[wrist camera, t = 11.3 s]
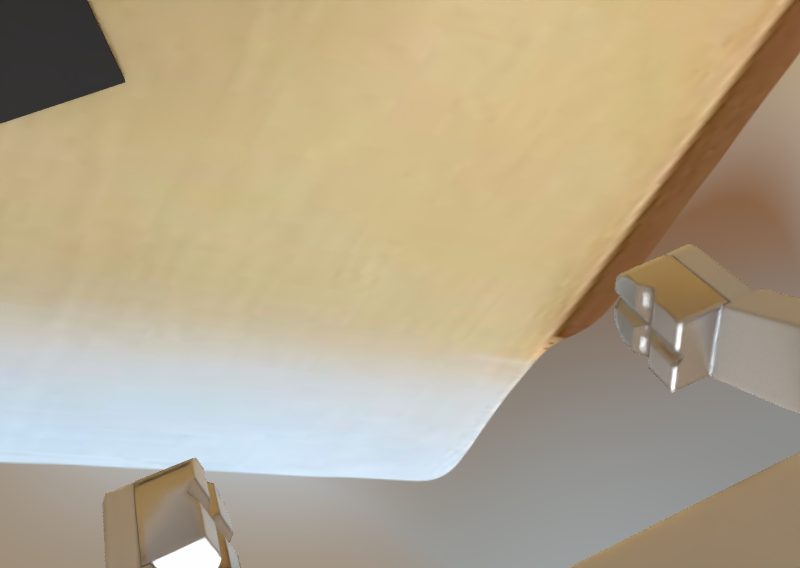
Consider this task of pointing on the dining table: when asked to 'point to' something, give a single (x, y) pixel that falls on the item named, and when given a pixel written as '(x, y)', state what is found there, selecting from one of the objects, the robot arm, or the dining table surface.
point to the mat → (50, 55)
